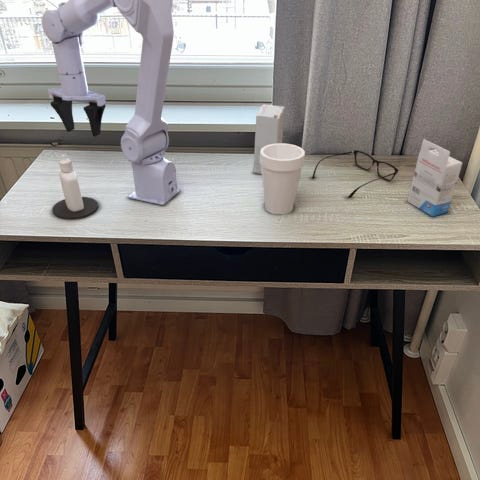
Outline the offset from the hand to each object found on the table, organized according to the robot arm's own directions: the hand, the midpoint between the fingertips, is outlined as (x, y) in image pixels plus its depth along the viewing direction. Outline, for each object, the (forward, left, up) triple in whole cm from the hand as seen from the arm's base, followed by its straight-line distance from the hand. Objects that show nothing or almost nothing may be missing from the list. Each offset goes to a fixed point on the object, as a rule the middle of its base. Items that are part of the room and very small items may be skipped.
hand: (83, 132), depth 120 cm
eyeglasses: (-62, -23, -11) cm, 67 cm away
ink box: (-81, -16, -11) cm, 83 cm away
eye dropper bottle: (-8, +17, -10) cm, 21 cm away
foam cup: (-50, -2, -11) cm, 51 cm away
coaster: (-8, +17, -10) cm, 21 cm away
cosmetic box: (-40, -21, -11) cm, 46 cm away
